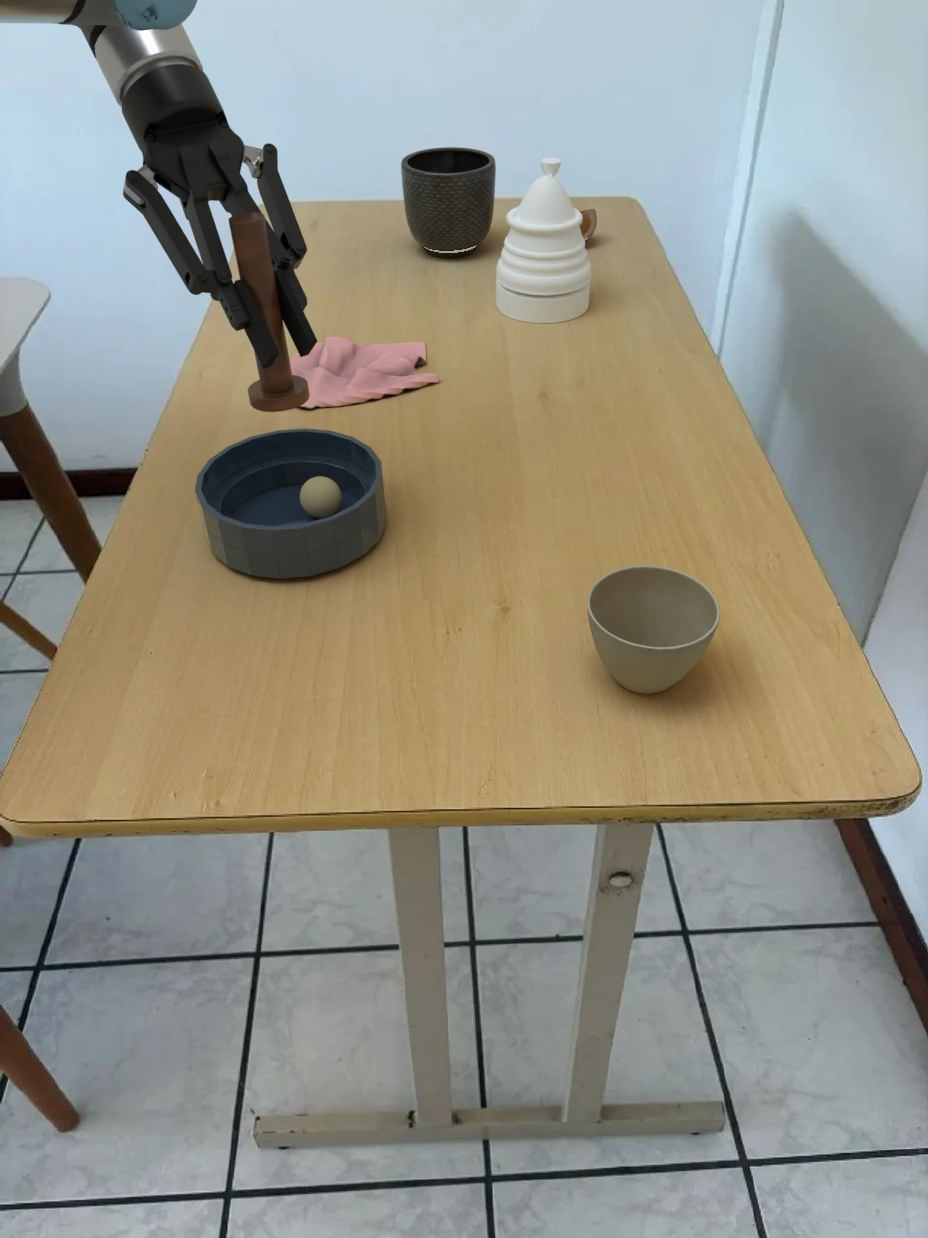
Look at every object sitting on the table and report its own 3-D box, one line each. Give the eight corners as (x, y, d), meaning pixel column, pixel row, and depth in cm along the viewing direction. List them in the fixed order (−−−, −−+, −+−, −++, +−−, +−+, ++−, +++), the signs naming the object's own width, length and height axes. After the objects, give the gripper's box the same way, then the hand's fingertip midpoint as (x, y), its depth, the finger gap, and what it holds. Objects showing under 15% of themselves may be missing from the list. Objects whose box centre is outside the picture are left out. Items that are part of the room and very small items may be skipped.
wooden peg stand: (243, 413, 82) (204, 227, 73) (257, 387, 86) (222, 209, 77) (303, 411, 81) (271, 224, 72) (314, 386, 86) (285, 206, 76)
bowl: (200, 591, 86) (186, 536, 82) (215, 486, 99) (203, 435, 95) (391, 574, 87) (387, 520, 83) (381, 473, 100) (377, 422, 96)
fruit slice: (548, 254, 146) (549, 220, 143) (535, 238, 151) (536, 206, 148) (600, 248, 148) (602, 215, 145) (585, 233, 153) (588, 201, 149)
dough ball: (287, 507, 93) (296, 490, 89) (310, 478, 95) (320, 461, 91) (321, 531, 94) (331, 517, 90) (343, 503, 95) (354, 487, 92)
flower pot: (732, 682, 76) (749, 614, 72) (638, 736, 72) (649, 667, 67) (647, 615, 82) (656, 548, 78) (555, 661, 78) (560, 594, 74)
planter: (493, 266, 143) (494, 174, 135) (400, 265, 144) (395, 174, 135) (496, 233, 154) (497, 146, 145) (410, 232, 154) (405, 146, 146)
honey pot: (508, 281, 138) (510, 147, 127) (596, 289, 136) (606, 153, 124) (485, 317, 129) (485, 176, 117) (579, 327, 126) (589, 184, 115)
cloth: (236, 392, 114) (232, 373, 113) (339, 323, 129) (337, 305, 127) (381, 431, 107) (379, 412, 105) (473, 353, 121) (473, 335, 120)
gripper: (241, 105, 84) (358, 347, 85) (64, 136, 77) (192, 401, 78) (261, 45, 78) (387, 309, 78) (68, 73, 71) (209, 363, 71)
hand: (290, 354), depth 78 cm, fingers closed on wooden peg stand, 3 cm apart
